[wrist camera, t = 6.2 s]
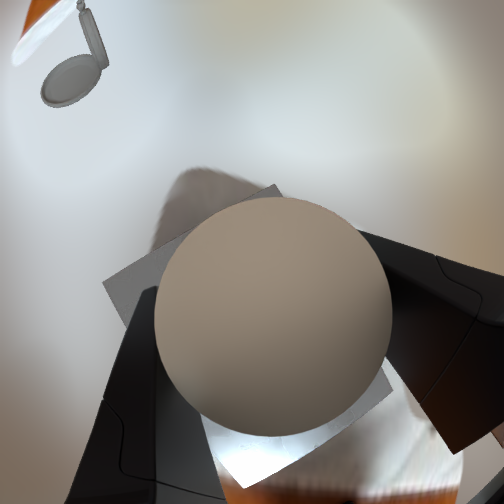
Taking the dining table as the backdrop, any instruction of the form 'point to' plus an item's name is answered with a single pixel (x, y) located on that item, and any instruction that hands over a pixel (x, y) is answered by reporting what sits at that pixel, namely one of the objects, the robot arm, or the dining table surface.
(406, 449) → the dining table surface
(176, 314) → the coin roll
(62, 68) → the pocket watch
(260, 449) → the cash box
